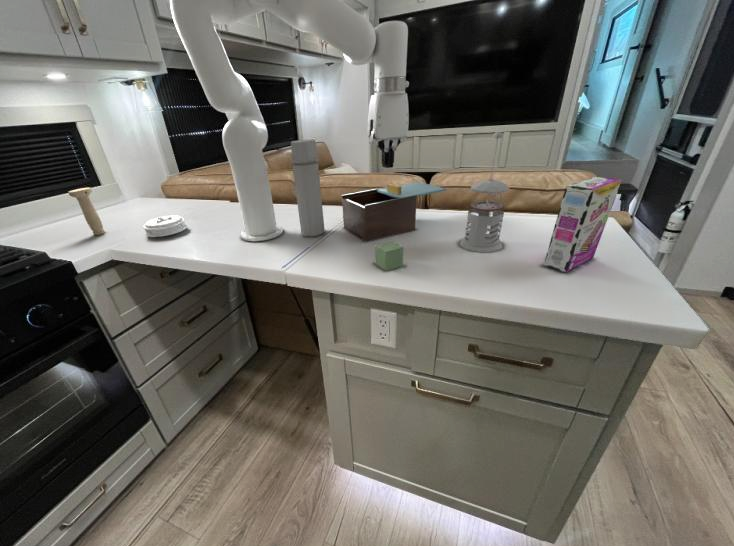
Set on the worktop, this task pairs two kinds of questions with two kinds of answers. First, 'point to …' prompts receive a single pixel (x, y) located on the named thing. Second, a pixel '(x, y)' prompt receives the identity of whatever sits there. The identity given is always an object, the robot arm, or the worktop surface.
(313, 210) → the water bottle
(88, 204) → the handle
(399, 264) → the block
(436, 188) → the sliding box cover
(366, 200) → the walnut box
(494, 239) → the french press
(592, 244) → the candy bar box
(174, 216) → the lid
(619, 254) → the worktop surface
